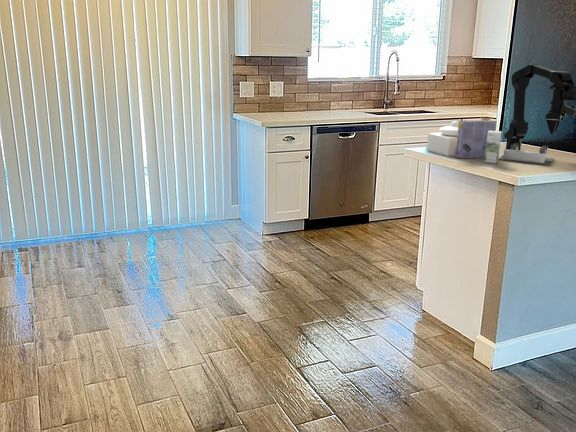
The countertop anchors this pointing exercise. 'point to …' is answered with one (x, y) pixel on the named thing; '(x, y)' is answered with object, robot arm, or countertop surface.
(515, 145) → the hook posts
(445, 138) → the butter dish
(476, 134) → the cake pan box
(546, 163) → the mat
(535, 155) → the steel bar
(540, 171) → the countertop surface
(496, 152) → the syrup box
